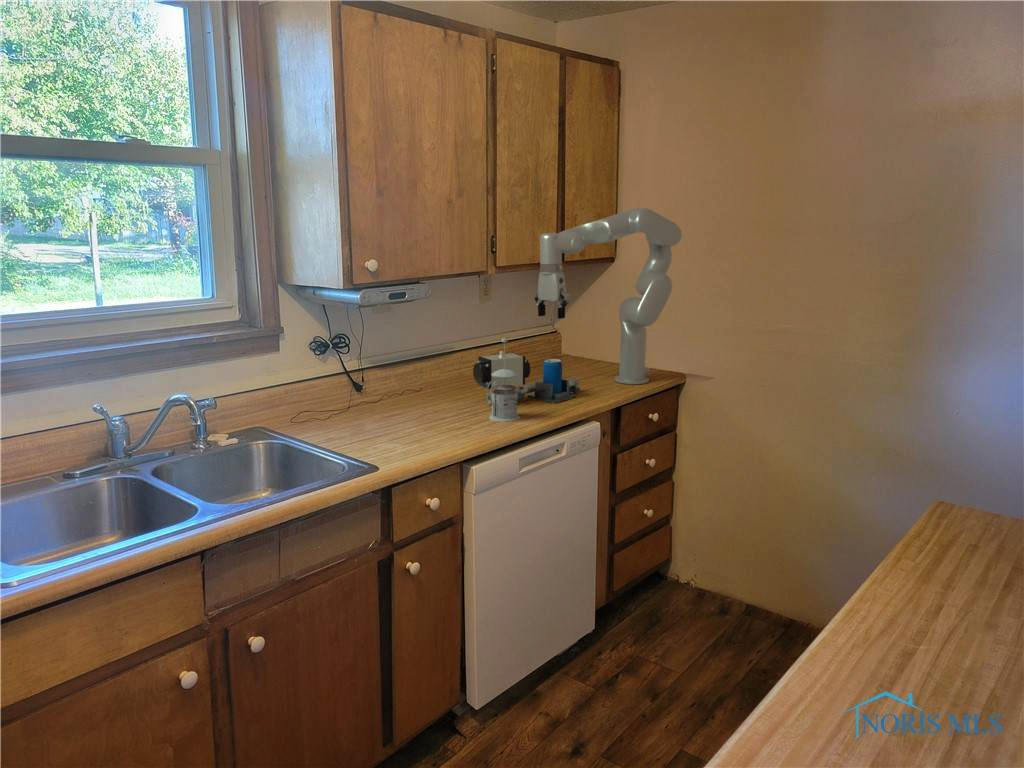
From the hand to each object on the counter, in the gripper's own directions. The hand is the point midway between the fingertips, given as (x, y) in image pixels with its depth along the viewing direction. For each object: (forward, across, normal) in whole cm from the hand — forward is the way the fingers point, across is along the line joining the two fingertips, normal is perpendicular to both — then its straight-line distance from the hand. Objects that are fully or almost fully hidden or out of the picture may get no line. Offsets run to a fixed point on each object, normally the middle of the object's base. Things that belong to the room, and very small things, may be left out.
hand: (551, 317), depth 271 cm
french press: (+25, -19, +42) cm, 53 cm away
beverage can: (+25, -11, +11) cm, 29 cm away
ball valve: (+25, -5, +30) cm, 40 cm away
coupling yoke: (+26, -10, +11) cm, 29 cm away
